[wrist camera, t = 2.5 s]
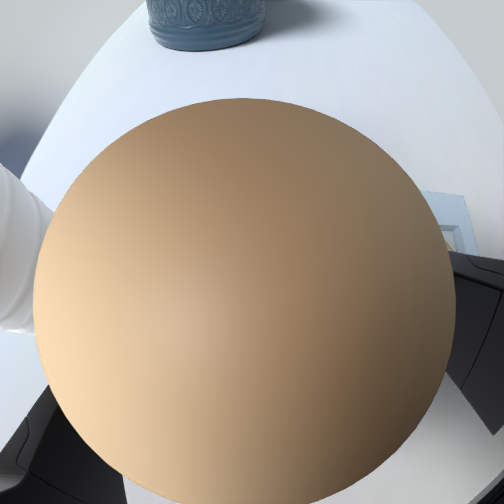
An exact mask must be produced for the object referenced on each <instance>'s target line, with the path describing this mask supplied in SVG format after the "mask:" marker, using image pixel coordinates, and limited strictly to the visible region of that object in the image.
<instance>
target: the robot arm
mask: <svg viewBox="0 0 504 504" xmlns="http://www.w3.org/2000/svg"><path fill="white" fill-rule="evenodd" d="M448 253H449V257H450V261H451V266H452V270H453V277H454V286H455V296H456V312H455V329H454V336H453V342H452V348H451V353H450V356H449V360H448V363H447V367H446V370H445V371H446V373H447V374H448V375H449V376H450V378H451V379H452V380H453V382H454V383H455V384H456V386H457V387H458V388H459V389H460V390H461V392H462V394H463V395H464V396H465V398H466V399H467V400H468V402H469V403H470V404H471V406H472V407H473V409H474V410H475V411H476V413H477V414H478V415H479V417H480V418H481V420H482V421H483V422H484V424H485V425H486V427H487V428H488V430H489V431H490V432H491V434H492V435H495V434H496V433H497V432H498V431H499V430H500V428H501V427H502V426H503V425H504V260H499V259H492V258H486V257H480V256H475V255H470V254H464V253H459V252H453V251H448ZM0 504H127V499H126V494H125V489H124V483H123V476H122V474H121V473H119V472H118V471H117V470H115V469H114V468H113V467H111V466H110V465H109V464H107V463H106V462H105V461H104V460H103V459H102V458H101V457H100V456H99V455H98V454H97V453H96V452H95V451H94V450H93V449H92V448H91V447H90V446H89V445H88V444H87V443H86V442H85V441H84V440H83V439H82V437H81V436H80V435H79V434H78V432H77V431H76V430H75V428H74V427H73V426H72V424H71V423H70V422H69V420H68V419H67V418H66V416H65V414H64V413H63V411H62V409H61V407H60V405H59V404H58V402H57V400H56V398H55V396H54V394H53V392H52V390H51V388H50V385H48V386H47V387H46V389H45V390H44V391H43V393H42V394H41V396H40V397H39V398H38V400H37V401H36V403H35V404H34V405H33V407H32V408H31V410H30V411H29V413H28V414H27V417H25V418H24V420H23V421H22V423H21V424H20V426H19V427H18V429H17V430H16V432H15V433H14V434H13V436H12V437H11V439H10V440H9V441H8V443H7V444H6V445H5V447H4V448H3V449H2V451H1V452H0ZM468 504H504V470H503V471H502V472H501V473H500V474H499V475H498V476H497V477H496V478H495V479H494V480H493V481H492V482H491V483H490V484H489V485H488V486H487V487H486V488H485V489H484V490H483V491H482V492H481V493H479V494H478V495H477V496H476V497H475V498H474V499H473V500H472V501H470V502H469V503H468Z"/></svg>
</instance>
